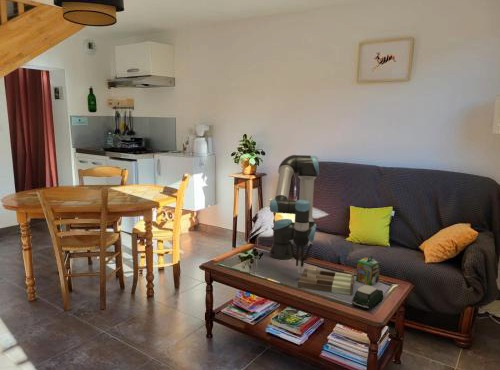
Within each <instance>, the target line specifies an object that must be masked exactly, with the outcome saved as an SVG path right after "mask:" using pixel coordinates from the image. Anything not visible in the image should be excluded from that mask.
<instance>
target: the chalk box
mask: <svg viewBox="0 0 500 370" xmlns="http://www.w3.org/2000/svg"><path fill="white" fill-rule="evenodd" d="M373 256H374V254H372V255H369V256H368V257H366V256H365V257H363V258H361V259H359V260H357V265H356V279H355V280H356V282H360V283H363V284H365V283H366V284H365V285H369V286H370V285H371V286H373V285H374V283H375V282H376V283H378V282H379V281H378V280H380V279H379V278H380V270H381V261H380V260H377V259H374V258H373ZM377 281H378V282H377ZM376 283H375V284H376ZM372 284H373V285H372Z"/></svg>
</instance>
